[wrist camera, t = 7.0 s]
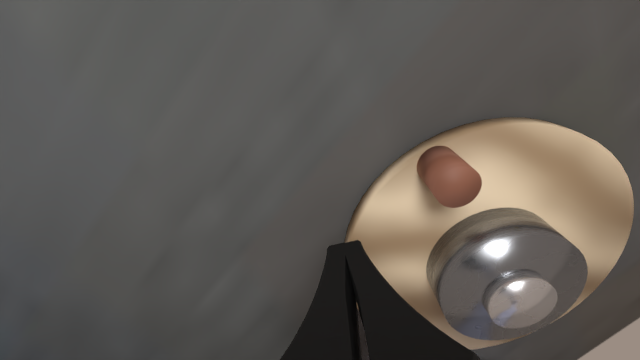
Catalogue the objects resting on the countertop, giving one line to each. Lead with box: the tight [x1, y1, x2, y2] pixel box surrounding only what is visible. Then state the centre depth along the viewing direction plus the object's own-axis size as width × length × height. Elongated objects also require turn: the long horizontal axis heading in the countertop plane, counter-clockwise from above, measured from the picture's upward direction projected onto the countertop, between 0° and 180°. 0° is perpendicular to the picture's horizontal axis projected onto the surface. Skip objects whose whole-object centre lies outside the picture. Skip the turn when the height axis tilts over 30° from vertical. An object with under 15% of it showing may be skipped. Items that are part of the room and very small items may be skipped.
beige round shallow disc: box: [345, 117, 634, 350], centre depth 22 cm, size 20×20×4 cm
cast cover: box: [426, 208, 588, 340], centre depth 21 cm, size 9×9×4 cm
